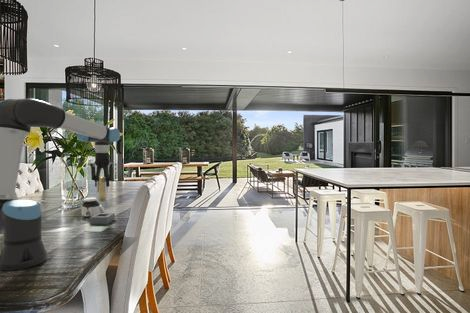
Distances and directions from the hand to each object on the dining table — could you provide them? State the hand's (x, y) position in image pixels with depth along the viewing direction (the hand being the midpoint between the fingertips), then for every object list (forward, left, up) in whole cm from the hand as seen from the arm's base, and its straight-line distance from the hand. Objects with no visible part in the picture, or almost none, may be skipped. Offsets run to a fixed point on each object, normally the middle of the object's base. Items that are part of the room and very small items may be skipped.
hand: (102, 192), depth 165 cm
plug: (0, 0, -5) cm, 5 cm away
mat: (-15, -4, -18) cm, 23 cm away
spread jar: (+14, +12, -18) cm, 26 cm away
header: (0, 0, -18) cm, 18 cm away
